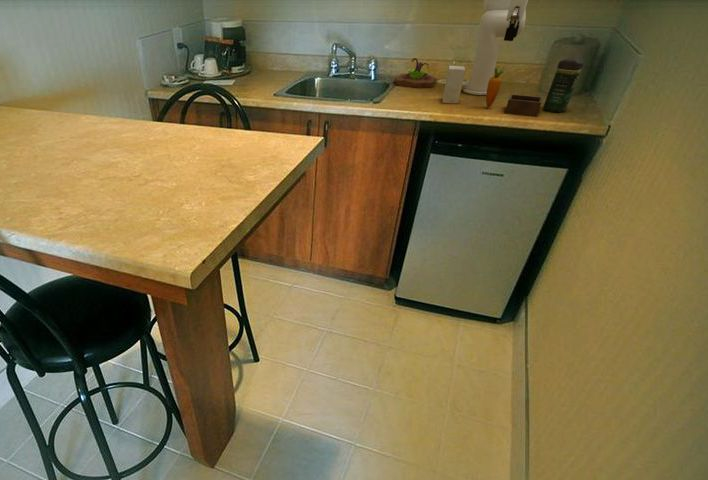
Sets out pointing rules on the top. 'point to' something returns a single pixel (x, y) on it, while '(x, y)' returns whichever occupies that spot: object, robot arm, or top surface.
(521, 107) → the pen box
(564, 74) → the coffee jar
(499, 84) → the carrot
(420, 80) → the plant
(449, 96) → the small box
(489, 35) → the robot arm
